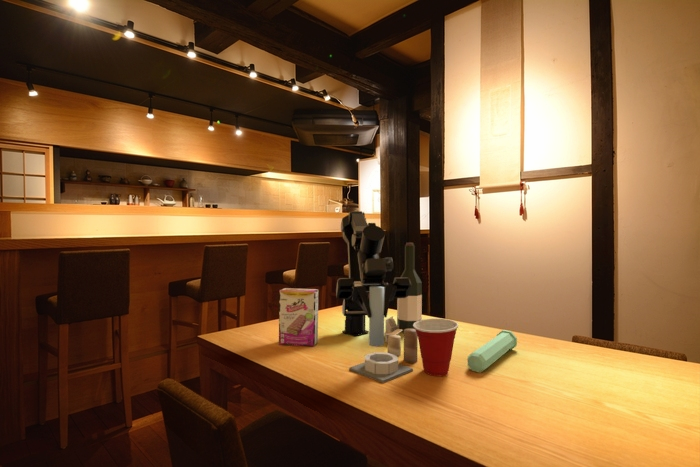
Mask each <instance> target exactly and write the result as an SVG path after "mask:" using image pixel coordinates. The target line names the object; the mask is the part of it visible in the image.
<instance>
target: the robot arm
mask: <svg viewBox="0 0 700 467" xmlns="http://www.w3.org/2000/svg"><path fill="white" fill-rule="evenodd" d="M340 233H342V239H343V240H344V242H345V243H346V244H347V256H348V257H347V259H348V262H347V263H348V277H339V278H338V279H337V282H336V288H335V293H336V294H335V296H336V299H337V300H343V301H342V307H341V309H342V311H341V312H342V315H343V316H344V317H345V320H344V330H342V333H343V334H347V335H350V336H354V337H357V336H362V335H365V334H369V330H366V316H367V318H368V319H369V318H370V317H371V312H370V307H369V293H370V287H371V286H381V287H384V318H387V316H388V311H389V306H390V302H391V301H394V299H397V298H406V297H408V294H409V291H410V288H411V281H410V279H409V278H400V277H394V278H393V282H392V283H388V282H384V281H386V273H387V272H392V270H393V269H394V261H393V257H390V256H387V257H386V256H385V257H384V258H380V255H379V254H380V253H382V247H383V244H384V242H385V236H386V232H385V230H384V229H383V228H381V227H380V226H379V225H377V224H376V222H367V218H366V216H365V211H362V210H361V211H360V210H359V211H358V210H352V211H349V212H348V214H347V215H345V216H343V217H342V218H341V222H340Z"/></svg>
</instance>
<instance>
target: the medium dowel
mask: <svg viewBox="0 0 700 467" xmlns="http://www.w3.org/2000/svg"><path fill="white" fill-rule="evenodd" d="M418 346H419V340H418V337H417V333H416V330H415V329H404V333H403V362H405V363H408V364H415V363H417V362H418V348H419V347H418Z"/></svg>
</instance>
